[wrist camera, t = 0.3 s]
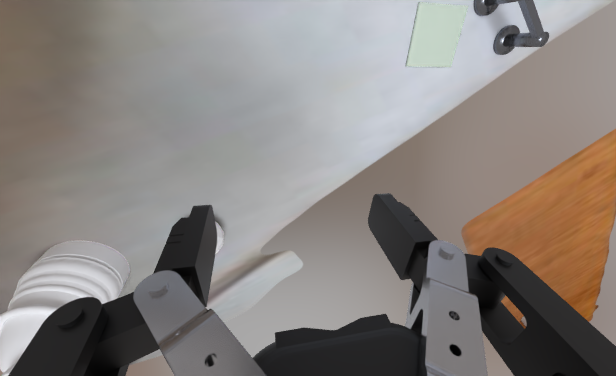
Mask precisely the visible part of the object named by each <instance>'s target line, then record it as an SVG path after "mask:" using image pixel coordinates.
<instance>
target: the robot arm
mask: <svg viewBox="0 0 616 376" xmlns="http://www.w3.org/2000/svg"><path fill="white" fill-rule="evenodd" d="M368 224H369V228H370V230H371V231H372V233H373V235H374V236H375V238H376V240H377V241H378V243H379V245H380V246H381V248H382V250H383V251H384V253H385V254H386V256H387V258H388V259H389V261H390V263H391V264H392V266H393V268H394V269H395V271H396V273H397V274H398V276H399V278H400V279H401V280H405V279H411V280H412V281H413V283H412V286H411V291H410V298H409V305H408V312H407V319H406V324H405V326H402V325H399V324H394V323H390V321H389V319H388V317H387V315H386V314H382V315H376V316H370V317H364V318H360V319H358V320H356V321H354V322H352V323H350V324H348V325H346V326H344V327H342V328H340V329H338V330H322V329H311V328H300V329H294V330H288V331H282V332H276V333H275V342H274V343H272V344H270V345H268V346H267V347H265V348H264V349H262V350H261V351H260V352H259V353H258V354H256V355H255V357H253V358H252V357H251V356H250V355H249V354H248V352H247V351H246V350H245V348H244V347H243V346H242V345H241V344H240V342H239V341H238V340H237V339H236V337H235V336H234V335H233V334H232V332H231V331H230V330H229V329H228V328H227V326H226V325H225V324H224V323H223V321H222V320H221V319H220V318H219V316H218V315H217V314H216V313H215V312H214V311H213V310H212V309H209V310H207V309H206V308H205V307H207V301H208V295H209V289H210V282H211V276H212V270H213V264H214V258H215V252H216V246H217V229H216V224H215V219H214V213H213V208H212V206H211V205H202V206H193V208H192V211H191V214H190V217H189V218H181V219H180V220H179V221H178V222H177V223H176V224H175V225H174V226H173V227H172V230H171V232H170V234H169V237H168V239H167V242H166V245H165V247H164V249H163V251H162V254H161V256H160V259H159V261H158V264H157V266H156V268H155V271H154V273H153V274H152V275H150V276H148V277H147V278H145V279H144V280H143V281H142V282H141V283H140V284H139V285H138V286H137V287H136V289H135V291H134V292H132V293H131V294H128V295H126V296H123V297H120V298H117V299H115V300H112V301H109V302H106V303H104V304H102V303H101V302H100V300H98V299H97V298H94V297H83V298H79V299H76V300H73V301H71V302H68V303H66V304H65V305H63V306H61V307H60V308H58V309H57V310H55V311H54V312H53V313H52V314H51V315H49V316H48V317H47V319H46V320H45V321H44V322H43V324H42V325H41V327H40V328H39V330H38V331H37V333H36V334H35V336H34V337H33V339H32V340H31V342H30V343H29V345H28V346H27V348H26V349H25V351H24V352H23V354H22V355H21V357H20V358H19V360H18V361H17V363H16V365H15V366H14V368H13V369H12V371H11V372H10V374H9V375H8V376H125V375H126V372H127V369H128V366H129V363H131V362H133V361H135V360H137V359H139V358H141V357H144V356H146V355H148V354H150V353H152V352H154V351H156V350H158V349H160V350H161V352H162V354H163V356H164V358H165V359H166V361H167V363H168V365H169V366H170V368H171V370H172V372H173V374H174V376H488V374H487V367H486V358H485V351H484V343H483V335H482V331H483V333H484V334H485V336H486V337H487V338H488V340H489V341H490V343H491V344H492V345H493V347H494V348H495V350H496V351H497V352H498V354H499V355H500V357H501V358H502V359H503V361H504V362H505V363H506V365H507V366H508V368H509V369H510V370H511V372H512V373H513V375H514V376H616V346H615V345H614V344H612V343H611V342H610V341H609V340H608V339H607V338H606V337H605V336H604V335H602V334H601V333H600V332H599V331H598V330H597V329H596V328H595V327H593V326H592V325H591V324H590V323H589V322H588V321H587V320H586V319H585V318H583V317H582V316H581V315H580V314H579V313H578V312H577V311H576V310H575V309H573V308H572V307H571V306H570V305H569V304H568V303H567V302H566V301H565V300H563V299H562V298H561V297H560V296H559V295H558V294H557V293H556V292H555V291H553V290H552V289H551V288H550V287H549V286H548V285H547V284H546V283H544V282H543V281H542V280H541V279H540V278H539V277H538V276H537V275H536V274H534V273H533V272H532V271H531V270H530V269H529V268H528V267H527V266H526V265H524V264H523V263H522V262H521V261H520V260H519V259H518V258H516V257H515V256H514V255H512V254H511V253H509V252H507V251H504V250H502V249H498V248H487V249H485V250H484V252H483V254H482V255H481V256H477V255H470V254H464V253H463V252H462V251H461V249H459V248H458V247H457V246H455V245H453V244H451V243H449V242H446V241H443V240H438V239H437V238H436V237H435V236H434V235H433V234H432V233H431V232H430V231H429V229H428V228H427V227H426V226H425V225H424V224H423V223H422V222H421V221H420V220H419V218H418V217H417V216H415V214H414V213H413V212H412V211H411V210H410V208H409V207H407V206H405V205H404V204H402V203H401V202H397V200H396V199H395V198H394V197H393V196H392V195H391V194H389V193H388V194H375V195H374V197H373V201H372V204H371V209H370V213H369V217H368ZM505 295H506V296H507V297H508V298H509V299H510V300H511V302H512V303H513V304H514V305H515V306H516V307H517V308H518V309H519V310H520V311H521V313H522V314H523V315H524V317H525V319H526V322H527V326H526V328H525V329H524V328H523V327H522V325H521V324H520V323H519V322H518V321H517V320H516V319H515V317H514V316H513V315H512V314H511V313H510V312H509V311H508V309H507V308H506V307H505V306H504V305H503V304H502V302H501V300H502V299H503V298H504V297H505Z"/></svg>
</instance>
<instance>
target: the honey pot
mask: <svg viewBox="0 0 616 376" xmlns="http://www.w3.org/2000/svg"><path fill="white" fill-rule="evenodd" d="M129 274H130V266H129V263H128V261H127V260H126V258H125V257H124V256H123V255H122V254H121V253H119V252H118V251H117V250H115V249H114V248H111V247H109V246H107V245H105V244H101V243H97V242H93V241H83V240H76V241H67V242H63V243H59V244H56V245H55V246H53V247H51V248H49V249H48V250H47V251H46V252H45V253H44V254H43V255H42V256H41V257H40V258H39V259H38V260H37V261H36V262H35V263H34V264H33V265H32V266H31V267H30V269H29V270H28V271H27V272H26V273H25V274H24V275H23V276H22V277H21V278H20V280H19V281H18V285H17V288H16V291H15V292H14V296H13V298H12V299H11V300H10V303H9V306H8V311H6V312H4V313H2V314H1V315H0V369H1V371H2V372H3V374H2V375H1V376H8V375H9V374H10V372H11V371H12V369H13V368H14V366H15V365H16V363H17V361H18V360H19V358H20V357H21V355H22V354H23V352H24V351H25V349H26V348H27V346H28V345H29V343H30V342H31V340H32V339H33V337H34V336H35V334H36V333H37V331H38V330H39V328H40V327H41V325H42V324H43V322H44V321H45V320H46V319H47V317H48V316H49V315H51V314H52V313H53V312H54V311H55V310H57V309H58V308H60V307H61V306H63V305H65V304H66V303H68V302H71V301H73V300H76V299H79V298H83V297H94V298H97V299H98V300H100V302H101V303H102V304H104V303H106V302H109V301H112V300H115V299H117V298H118V296H119V294H120V292H121V290H122V288H123V286H124V284H125V282H126V280H127V278H128V276H129Z"/></svg>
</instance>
